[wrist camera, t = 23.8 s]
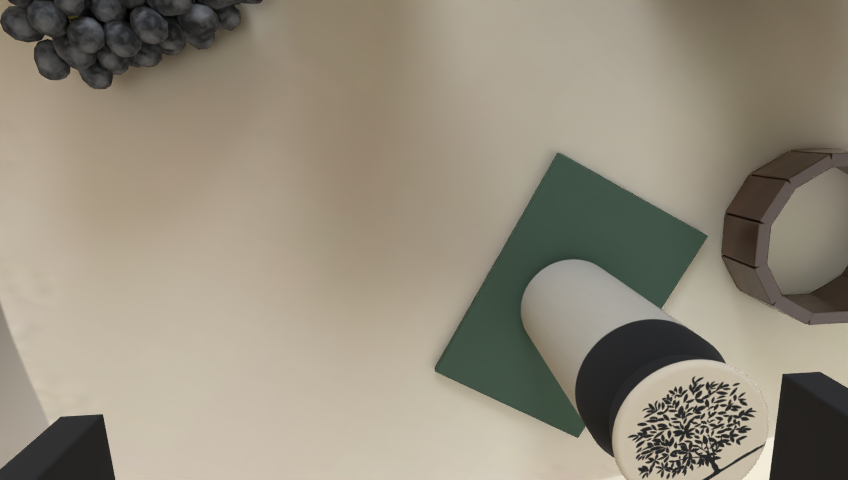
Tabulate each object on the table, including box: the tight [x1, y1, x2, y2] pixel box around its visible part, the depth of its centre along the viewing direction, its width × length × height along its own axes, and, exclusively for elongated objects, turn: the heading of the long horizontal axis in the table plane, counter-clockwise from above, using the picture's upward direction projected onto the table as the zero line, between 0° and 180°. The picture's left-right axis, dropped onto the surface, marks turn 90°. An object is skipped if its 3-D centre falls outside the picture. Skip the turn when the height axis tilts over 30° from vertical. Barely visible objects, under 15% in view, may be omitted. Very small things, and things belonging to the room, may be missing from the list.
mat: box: [435, 153, 708, 438], centre depth 42 cm, size 20×14×1 cm
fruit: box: [0, 0, 263, 89], centre depth 32 cm, size 9×8×15 cm
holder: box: [722, 149, 848, 325], centre depth 40 cm, size 13×13×4 cm
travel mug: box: [521, 259, 769, 480], centre depth 33 cm, size 8×8×18 cm
